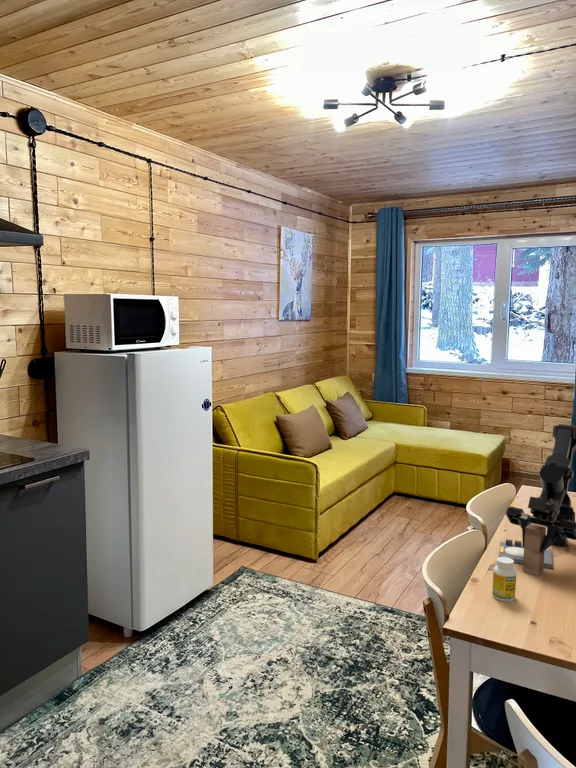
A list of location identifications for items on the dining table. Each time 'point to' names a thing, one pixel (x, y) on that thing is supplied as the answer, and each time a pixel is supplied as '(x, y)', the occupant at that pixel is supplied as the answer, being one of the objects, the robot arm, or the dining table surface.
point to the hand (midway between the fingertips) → (532, 549)
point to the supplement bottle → (504, 580)
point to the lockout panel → (521, 552)
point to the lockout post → (533, 549)
